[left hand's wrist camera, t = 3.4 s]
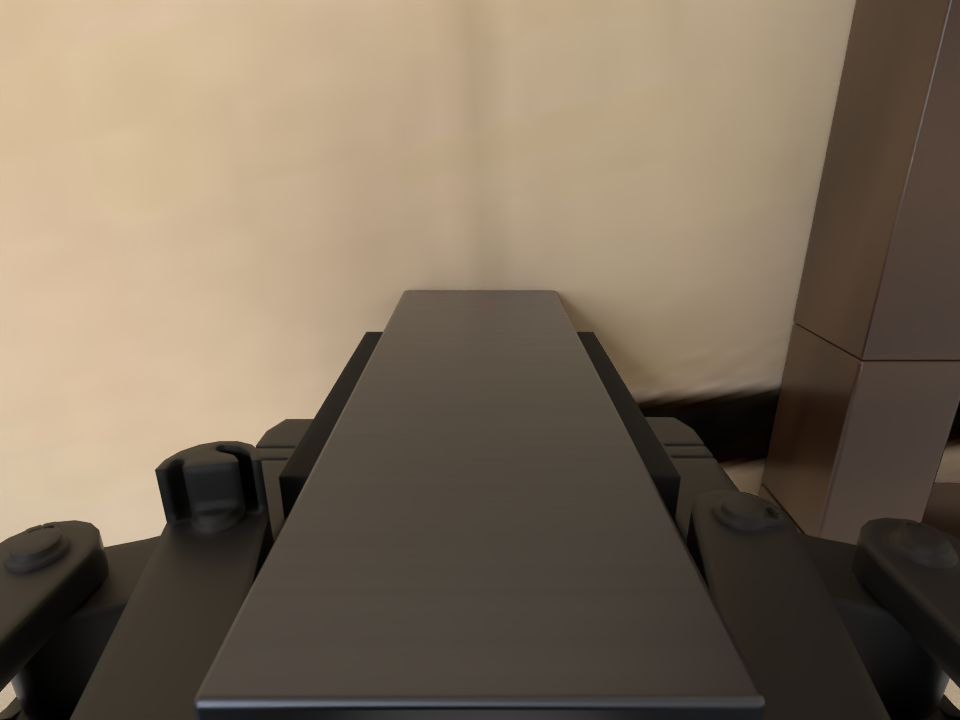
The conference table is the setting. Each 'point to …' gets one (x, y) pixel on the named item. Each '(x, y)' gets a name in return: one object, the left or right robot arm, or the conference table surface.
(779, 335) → the conference table surface
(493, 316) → the peg
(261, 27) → the conference table surface
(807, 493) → the peg board
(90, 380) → the conference table surface
